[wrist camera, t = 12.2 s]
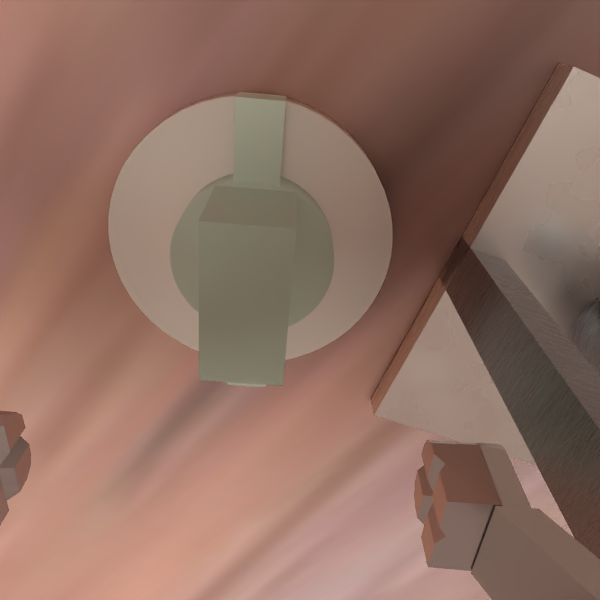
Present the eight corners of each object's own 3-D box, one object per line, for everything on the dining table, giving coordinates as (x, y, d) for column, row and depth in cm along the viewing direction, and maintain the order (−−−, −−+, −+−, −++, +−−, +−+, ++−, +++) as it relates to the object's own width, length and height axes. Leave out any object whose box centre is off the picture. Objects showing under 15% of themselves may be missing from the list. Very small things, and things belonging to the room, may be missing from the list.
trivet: (153, 43, 19) (145, 45, 18) (436, 157, 21) (443, 165, 20) (93, 303, 24) (83, 317, 23) (326, 376, 26) (328, 392, 25)
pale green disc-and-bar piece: (350, 100, 19) (366, 129, 14) (317, 371, 24) (321, 453, 20) (174, 85, 19) (135, 109, 14) (180, 362, 24) (153, 443, 20)
